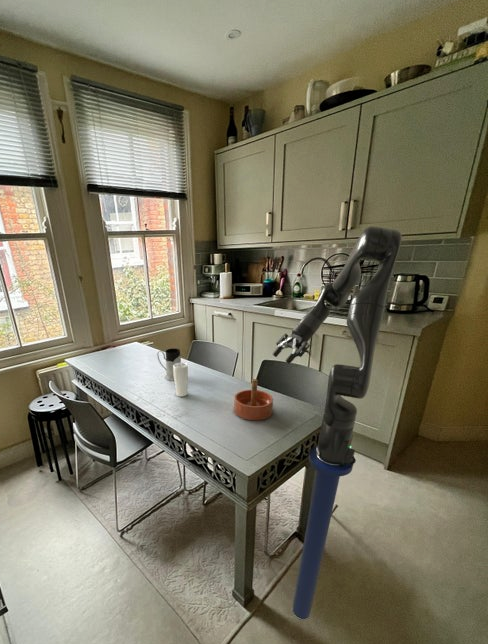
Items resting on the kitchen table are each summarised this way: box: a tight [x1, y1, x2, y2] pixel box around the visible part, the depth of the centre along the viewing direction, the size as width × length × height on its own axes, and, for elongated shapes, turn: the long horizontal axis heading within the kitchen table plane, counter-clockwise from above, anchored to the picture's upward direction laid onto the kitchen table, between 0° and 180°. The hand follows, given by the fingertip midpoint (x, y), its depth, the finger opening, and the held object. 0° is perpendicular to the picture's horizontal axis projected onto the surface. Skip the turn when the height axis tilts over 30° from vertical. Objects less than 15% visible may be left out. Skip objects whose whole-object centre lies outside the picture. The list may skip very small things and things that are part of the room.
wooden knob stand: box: [247, 378, 260, 406], centre depth 130 cm, size 5×5×14 cm
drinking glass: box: [173, 362, 189, 397], centre depth 147 cm, size 7×7×15 cm
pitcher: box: [156, 347, 182, 382], centre depth 167 cm, size 9×14×15 cm, turn 60°
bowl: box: [233, 389, 274, 421], centre depth 132 cm, size 16×16×6 cm
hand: (280, 358), depth 128 cm, fingers open, 8 cm apart
